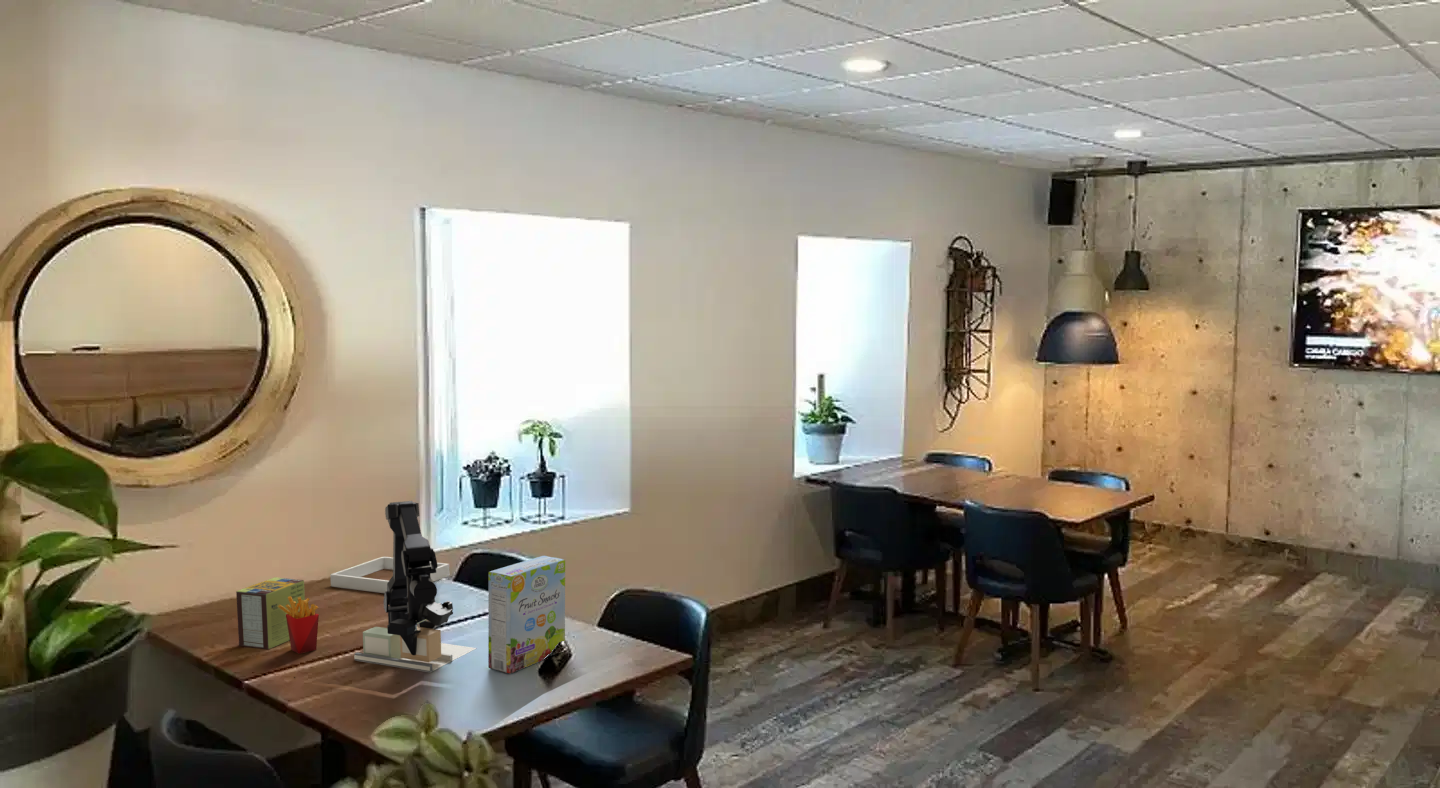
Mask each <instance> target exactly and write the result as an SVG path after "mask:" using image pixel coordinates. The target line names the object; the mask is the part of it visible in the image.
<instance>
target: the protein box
mask: <svg viewBox="0 0 1440 788" xmlns="http://www.w3.org/2000/svg"><path fill="white" fill-rule="evenodd" d="M235 594H236V610H237V631H238V646H240V647H247V648H255V649H256V648H257V649H264V650H270V649H272V648H275V647H277V646H279V645H281V644H284V643H286V642H290V638H289V632H288V626H287V619H286V614H287V613H286V612H284V611H283V610H282V609H280V608H279V607H278V606H279V605H281V606H283V607H284V608H285V609H287V610H288V611H289V609H288V608H287V607H286V605H287V604H288V605H289V606H290V607H291V604H290V602H289V600H288V597H289V596H291V597H292V600H293V601H295V602H296V605H297V603H299V602H298V597H301V600H303V601H304V600H306V598H305V597H306V596H305V594H306V593H305V580H304V579H293V578H285V577H284V578H283V577H282V578H281V577H277V576H276V577H275V576H274V577H272V578H270V579H266V580H264V581H260V582H258V583H255V584H253V585H249V586H248V587H245V588H242V589H239V590H236V591H235ZM296 605H295V607H296ZM291 609H292V607H291ZM289 612H290V611H289ZM298 612H300V607H299V609H298Z"/></svg>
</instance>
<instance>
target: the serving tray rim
mask: <svg viewBox="0 0 1440 788" xmlns="http://www.w3.org/2000/svg"><path fill="white" fill-rule="evenodd" d="M437 565H438V566H437V568H436V573H430V577H431V580H432V581H433V583H434V582H437V581H439V580H442V579H444V578H447V577H450V563H444V562H437ZM425 567H431V568H432V566H431V562H430V566H425ZM422 568H423V567H422ZM383 569H384V570H391V571H393V556H392V557H390V556H381V557H378V558H374V559H372V560H369V561H365V562H363V563H360V564H357V565H355V566H352V567H349V568H345V569H342V570H340V571H337V572H333V573H331V574H330V575H329V576H330V587H333V588H339V589H340V588H341V589H348V590H355V591H357V590H358V591H365V592H370V593H371V592H372V593H381V594H385V591H387V583H388V582H389V580H387V579H378V578H372V577H364V576H368V575H370V574H373V573H376V572H378V571H382V570H383Z"/></svg>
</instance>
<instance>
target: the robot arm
mask: <svg viewBox="0 0 1440 788" xmlns="http://www.w3.org/2000/svg"><path fill="white" fill-rule="evenodd" d="M384 510H385V511H384V515H385V519H386V520H387V522H388V525H389V526H388V527H389V529H390V530H391V531H392V533H393V535H392V536H393V537H392V539H393V542H392V544H393V545H392V546H393V548H392V550H393V551H392V553H393V555H392V558H393V570H392V576H391V578H390V579H389V580H388V581H389V582H388V583H387V591H385V593H384V595H383V597H384V598H383V609H384V611H385V613H387V620H388V623H387V624H388V625H386V628H387V633H388V634H394V635H400V636H401V637H402V639H403V640H404V642H405V644H406V645H407V647H408V649H409V651H410V653H411V654H412V655H416V650H417V636H418V634H419V633H420V632H421V631H419V630H417V627H418V625H419V627H424V628H430V629H437V627H439V626H442V625H443V624H445V623H448V621H449V618H450V617H451V616H453V614H454V612H453V610H454V607H453V602H452V601H450V600H446V601H444V602H443V603H442V602H439V603H437V602H436V599H435V598H436V596H437V595H438V594H437V593H438V589H437V586H436V584H435V583H434V582H433V581H432V580H431V577H430V573H436V568H437V566H438V565H437V563H438V561H437V557H436V552H435V550H434V548H433V547H431V545H430V542H429V539H427V538H425V537H424V536H423V534H422V530H421V527H420V523H419V520H418V517H420V506H419V502H414V501H413V500H405V501H395V502H389V504H387V506H385V509H384ZM430 562H431V566H432V568H431V567H425V566H430ZM422 567H423V568H422Z"/></svg>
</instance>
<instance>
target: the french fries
mask: <svg viewBox="0 0 1440 788" xmlns="http://www.w3.org/2000/svg"><path fill="white" fill-rule="evenodd" d="M288 600H289V602H290V604H291V607H292V609H291V607H290V606H289V605H288V604H287V605H286V607H287V608H288V609H289V611H290V612H289V611H288V610H287V609H285V608H284V607H283V606H281V605H279V606H278V607H279V608H280V609H282V610H283V611H284V612H286V613H287V614H286V619H287V626H288V632H289V638H290V640H289V643H290V649H291V651H293V652H294V653H297V654H298V655H301V654H305V653H308V652H312V651H317V644H318V631H319V619H320V618H319V615H320V614H319V613H317V612H316V610H317V609H319V606H317V604H315V603H311V605H309V602H310V598H308V597H307V598H305V600H304V601H303V600H301V597H298V602H299V603H297V605H296V602H295V601H293V600H292V597H291V596H289V597H288ZM295 605H296V607H295ZM299 607H300V612H298V609H299Z"/></svg>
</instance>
